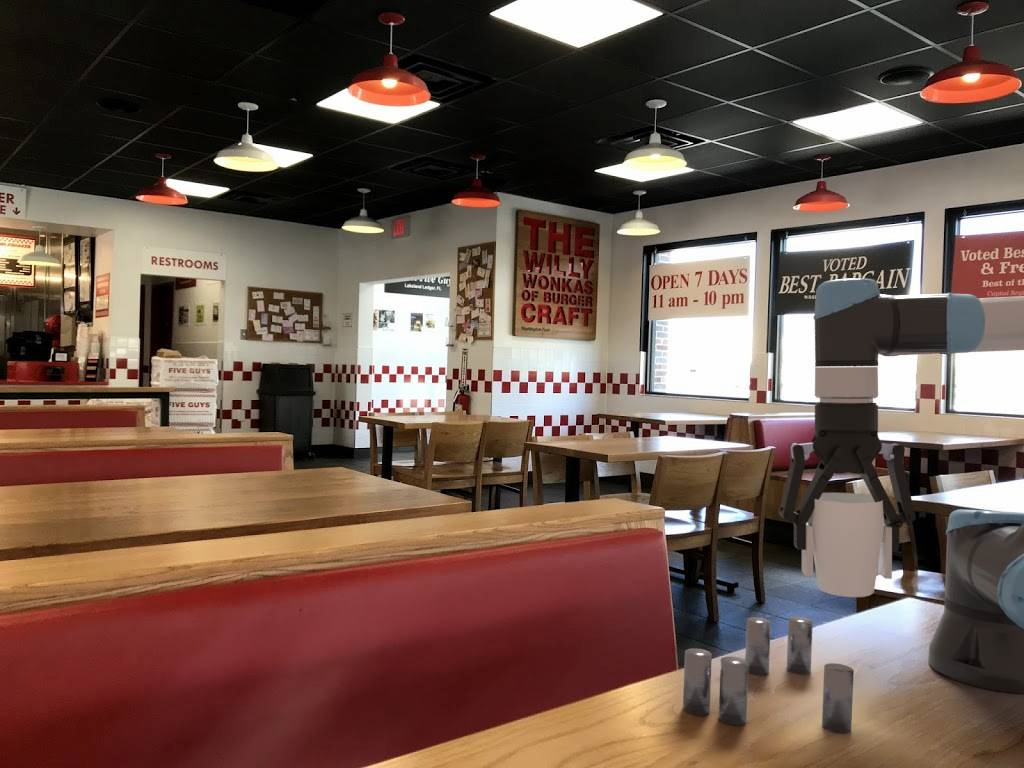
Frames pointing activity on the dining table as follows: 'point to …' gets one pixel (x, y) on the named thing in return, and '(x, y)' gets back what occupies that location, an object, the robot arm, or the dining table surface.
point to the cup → (847, 543)
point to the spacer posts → (757, 663)
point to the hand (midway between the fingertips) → (845, 575)
